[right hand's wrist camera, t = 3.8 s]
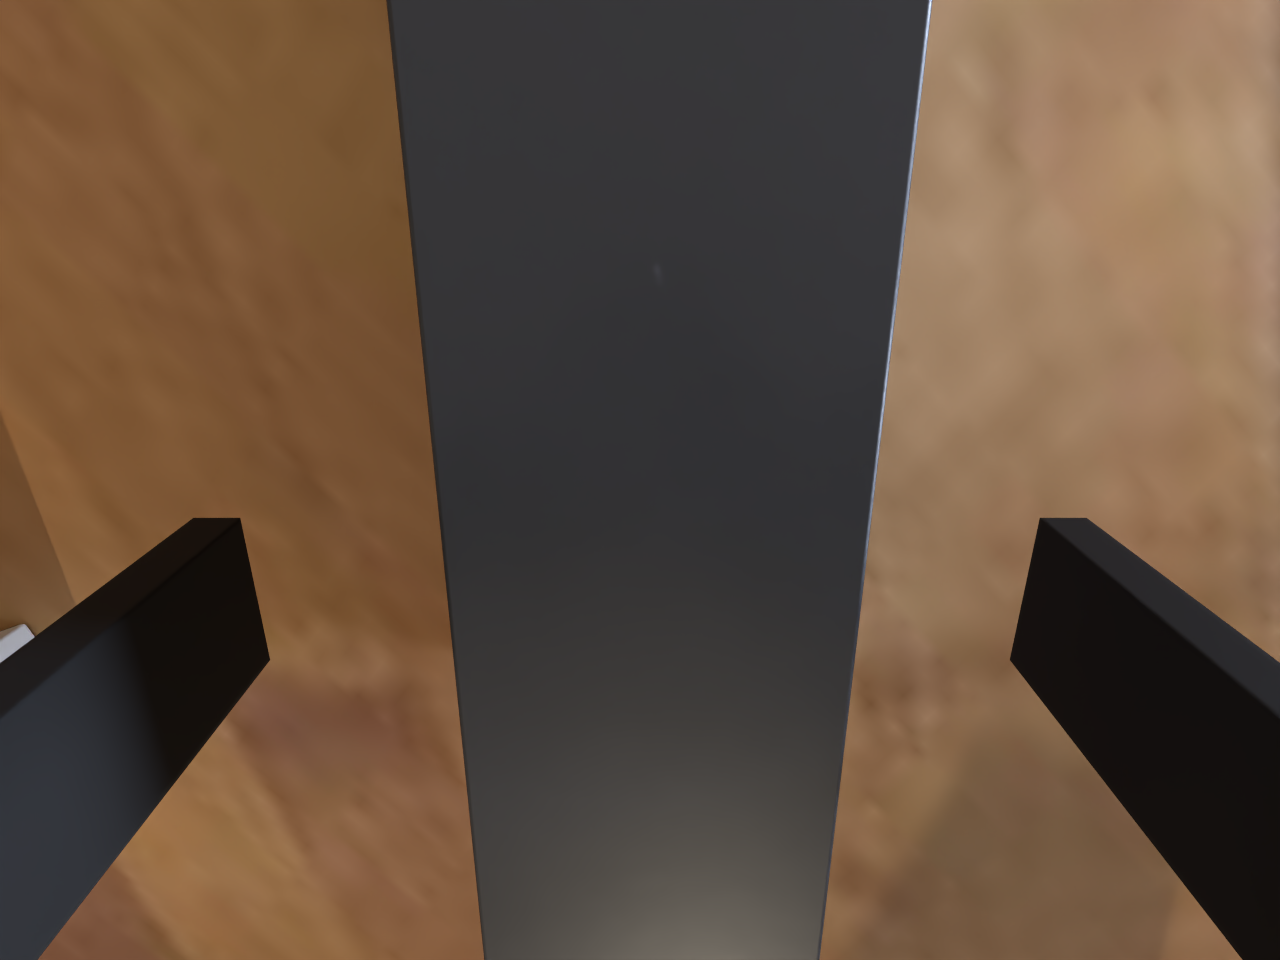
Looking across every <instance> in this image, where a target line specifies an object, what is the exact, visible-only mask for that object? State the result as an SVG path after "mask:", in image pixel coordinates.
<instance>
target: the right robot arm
mask: <svg viewBox="0 0 1280 960" xmlns="http://www.w3.org/2000/svg"><path fill="white" fill-rule="evenodd" d="M269 661H270V657H269V652H268V648H267V643H266V638H265V633H264V629H263V624H262V619H261V614H260V610H259V605H258V600H257V596H256V591H255V586H254V581H253V577H252V572H251V567H250V562H249V558H248V553H247V548H246V544H245V539H244V534H243V529H242V525H241V520H240V518H193V519H191V520H190V521H189V522H187V523H186V524H185V525H183V526H182V527H181V528H179V529H178V530H177V531H175V532H174V533H173V534H171V535H170V536H169V537H167V538H166V539H165V540H163V541H162V542H161V543H159V544H158V545H157V546H155V547H154V548H153V549H151V550H150V551H149V552H147V553H146V554H145V555H143V556H142V557H141V558H139V559H138V560H137V561H135V562H134V563H133V564H131V565H130V566H129V567H127V568H126V569H125V570H123V571H122V572H121V573H119V574H118V575H117V576H115V577H114V578H113V579H111V580H110V581H109V582H107V583H106V584H105V585H103V586H102V587H101V588H99V589H98V590H97V591H95V592H94V593H93V594H91V595H90V596H89V597H87V598H86V599H85V600H83V601H82V602H81V603H79V604H78V605H77V606H75V607H74V608H73V609H71V610H70V611H69V612H67V613H66V614H65V615H63V616H62V617H61V618H59V619H58V620H57V621H55V622H54V623H53V624H51V625H50V626H49V627H47V628H46V629H45V630H43V631H42V632H41V633H39V634H38V635H37V636H35V637H34V638H33V639H31V640H30V641H29V642H27V643H26V644H25V645H23V646H22V647H21V648H19V649H18V650H17V651H15V652H14V653H13V654H11V655H10V656H9V657H7V658H6V659H5V660H3V661H2V662H1V663H0V960H38V958H39V957H40V956H41V954H42V953H43V952H44V951H45V949H46V948H47V947H48V945H49V944H50V943H51V942H52V940H53V939H54V938H55V936H56V935H57V934H58V933H59V931H60V930H61V929H62V927H63V926H64V925H65V924H66V922H67V921H68V920H69V918H70V917H71V916H72V914H73V913H74V912H75V911H76V909H77V908H78V907H79V905H80V904H81V903H82V902H83V900H84V899H85V898H86V896H87V895H88V894H89V893H90V891H91V890H92V889H93V887H94V886H95V885H96V884H97V882H98V881H99V880H100V878H101V877H102V876H103V875H104V873H105V872H106V871H107V869H108V868H109V867H110V866H111V864H112V863H113V862H114V860H115V859H116V858H117V856H118V855H119V854H120V853H121V851H122V850H123V849H124V847H125V846H126V845H127V844H128V842H129V841H130V840H131V838H132V837H133V836H134V835H135V833H136V832H137V831H138V829H139V828H140V827H141V826H142V824H143V823H144V822H145V820H146V819H147V818H148V817H149V815H150V814H151V813H152V811H153V810H154V809H155V808H156V806H157V805H158V804H159V802H160V801H161V800H162V798H163V797H164V796H165V795H166V793H167V792H168V791H169V789H170V788H171V787H172V786H173V784H174V783H175V782H176V780H177V779H178V778H179V777H180V775H181V774H182V773H183V771H184V770H185V769H186V768H187V766H188V765H189V764H190V762H191V761H192V760H193V759H194V757H195V756H196V755H197V753H198V752H199V751H200V750H201V748H202V747H203V746H204V744H205V743H206V742H207V741H208V739H209V738H210V737H211V735H212V734H213V733H214V731H215V730H216V729H217V728H218V726H219V725H220V724H221V722H222V721H223V720H224V719H225V717H226V716H227V715H228V713H229V712H230V711H231V710H232V708H233V707H234V706H235V704H236V703H237V702H238V701H239V699H240V698H241V697H242V695H243V694H244V693H245V692H246V690H247V689H248V688H249V686H250V685H251V684H252V683H253V681H254V680H255V679H256V677H257V676H258V675H259V673H260V672H261V671H262V670H263V668H264V667H265V666H266V664H267V663H268V662H269ZM1010 661H1011V662H1012V663H1013V664H1014V666H1015V667H1016V668H1017V670H1018V671H1019V672H1020V673H1021V675H1022V676H1023V677H1024V679H1025V680H1026V681H1027V683H1028V684H1029V685H1030V686H1031V688H1032V689H1033V690H1034V692H1035V693H1036V694H1037V695H1038V697H1039V698H1040V699H1041V701H1042V702H1043V703H1044V704H1045V706H1046V707H1047V708H1048V710H1049V711H1050V712H1051V713H1052V715H1053V716H1054V717H1055V719H1056V720H1057V721H1058V722H1059V724H1060V725H1061V726H1062V728H1063V729H1064V730H1065V731H1066V733H1067V734H1068V735H1069V737H1070V738H1071V739H1072V741H1073V742H1074V743H1075V744H1076V746H1077V747H1078V748H1079V750H1080V751H1081V752H1082V753H1083V755H1084V756H1085V757H1086V759H1087V760H1088V761H1089V762H1090V764H1091V765H1092V766H1093V768H1094V769H1095V770H1096V771H1097V773H1098V774H1099V775H1100V777H1101V778H1102V779H1103V780H1104V782H1105V783H1106V784H1107V786H1108V787H1109V788H1110V789H1111V791H1112V792H1113V793H1114V795H1115V796H1116V797H1117V799H1118V800H1119V801H1120V802H1121V804H1122V805H1123V806H1124V808H1125V809H1126V810H1127V811H1128V813H1129V814H1130V815H1131V817H1132V818H1133V819H1134V820H1135V822H1136V823H1137V824H1138V826H1139V827H1140V828H1141V829H1142V831H1143V832H1144V833H1145V835H1146V836H1147V837H1148V838H1149V840H1150V841H1151V842H1152V844H1153V845H1154V846H1155V847H1156V849H1157V850H1158V851H1159V853H1160V854H1161V855H1162V856H1163V858H1164V859H1165V860H1166V862H1167V863H1168V864H1169V866H1170V867H1171V868H1172V869H1173V871H1174V872H1175V873H1176V875H1177V876H1178V877H1179V878H1180V880H1181V881H1182V882H1183V884H1184V885H1185V886H1186V887H1187V889H1188V890H1189V891H1190V893H1191V894H1192V895H1193V896H1194V898H1195V899H1196V900H1197V902H1198V903H1199V904H1200V905H1201V907H1202V908H1203V909H1204V911H1205V912H1206V913H1207V914H1208V916H1209V917H1210V918H1211V920H1212V921H1213V922H1214V924H1215V925H1216V926H1217V927H1218V929H1219V930H1220V931H1221V933H1222V934H1223V935H1224V936H1225V938H1226V939H1227V940H1228V942H1229V943H1230V944H1231V945H1232V947H1233V948H1234V949H1235V951H1236V952H1237V953H1238V954H1239V956H1240V957H1241V958H1242V960H1280V663H1279V662H1278V661H1277V660H1275V659H1274V658H1273V657H1271V656H1270V655H1269V654H1267V653H1266V652H1265V651H1263V650H1262V649H1261V648H1259V647H1258V646H1257V645H1255V644H1254V643H1253V642H1251V641H1250V640H1249V639H1247V638H1246V637H1245V636H1243V635H1242V634H1241V633H1239V632H1238V631H1237V630H1235V629H1234V628H1233V627H1231V626H1230V625H1229V624H1227V623H1226V622H1225V621H1223V620H1222V619H1221V618H1219V617H1218V616H1217V615H1215V614H1214V613H1213V612H1211V611H1210V610H1209V609H1207V608H1206V607H1205V606H1203V605H1202V604H1201V603H1199V602H1198V601H1197V600H1195V599H1194V598H1193V597H1191V596H1190V595H1189V594H1187V593H1186V592H1185V591H1183V590H1182V589H1181V588H1179V587H1178V586H1177V585H1175V584H1174V583H1173V582H1171V581H1170V580H1169V579H1167V578H1166V577H1165V576H1163V575H1162V574H1161V573H1159V572H1158V571H1157V570H1155V569H1154V568H1153V567H1151V566H1150V565H1149V564H1147V563H1146V562H1145V561H1143V560H1142V559H1141V558H1139V557H1138V556H1137V555H1135V554H1134V553H1133V552H1131V551H1130V550H1129V549H1127V548H1126V547H1125V546H1123V545H1122V544H1121V543H1119V542H1118V541H1117V540H1115V539H1114V538H1113V537H1111V536H1110V535H1109V534H1107V533H1106V532H1105V531H1103V530H1102V529H1101V528H1099V527H1098V526H1097V525H1095V524H1094V523H1093V522H1091V521H1090V520H1089V519H1087V518H1040V520H1039V525H1038V529H1037V534H1036V539H1035V544H1034V548H1033V553H1032V558H1031V562H1030V567H1029V572H1028V577H1027V581H1026V586H1025V591H1024V596H1023V600H1022V605H1021V610H1020V614H1019V619H1018V624H1017V629H1016V633H1015V638H1014V643H1013V648H1012V652H1011V657H1010Z"/></svg>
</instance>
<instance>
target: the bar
mask: <svg viewBox="0 0 1280 960" xmlns="http://www.w3.org/2000/svg"><path fill="white" fill-rule="evenodd" d="M386 1H387V11H388V20H389V30H390V40H391V50H392V60H393V69H394V79H395V89H396V99H397V109H398V118H399V128H400V138H401V148H402V158H403V167H404V177H405V187H406V197H407V207H408V216H409V226H410V236H411V246H412V256H413V265H414V275H415V285H416V295H417V305H418V314H419V324H420V334H421V344H422V354H423V363H424V373H425V383H426V393H427V403H428V412H429V422H430V432H431V442H432V452H433V461H434V471H435V481H436V491H437V501H438V510H439V520H440V530H441V540H442V550H443V559H444V569H445V579H446V589H447V599H448V608H449V618H450V628H451V638H452V648H453V657H454V667H455V677H456V687H457V697H458V706H459V716H460V726H461V736H462V745H463V755H464V765H465V775H466V785H467V794H468V804H469V814H470V824H471V834H472V843H473V853H474V863H475V873H476V883H477V892H478V902H479V912H480V922H481V932H482V941H483V951H484V960H819V958H820V950H821V941H822V933H823V924H824V916H825V907H826V899H827V890H828V882H829V873H830V865H831V857H832V848H833V840H834V831H835V823H836V814H837V806H838V797H839V789H840V780H841V772H842V763H843V755H844V746H845V738H846V729H847V721H848V712H849V704H850V695H851V687H852V678H853V670H854V661H855V653H856V644H857V636H858V627H859V619H860V610H861V602H862V593H863V585H864V576H865V568H866V559H867V551H868V542H869V534H870V525H871V517H872V508H873V500H874V491H875V483H876V474H877V466H878V457H879V449H880V440H881V432H882V423H883V415H884V406H885V398H886V389H887V381H888V372H889V364H890V356H891V347H892V339H893V330H894V322H895V313H896V305H897V296H898V288H899V279H900V271H901V262H902V254H903V245H904V237H905V228H906V220H907V211H908V203H909V194H910V186H911V177H912V169H913V160H914V152H915V143H916V135H917V126H918V118H919V109H920V101H921V92H922V84H923V75H924V67H925V58H926V50H927V41H928V33H929V24H930V16H931V7H932V0H386Z"/></svg>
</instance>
